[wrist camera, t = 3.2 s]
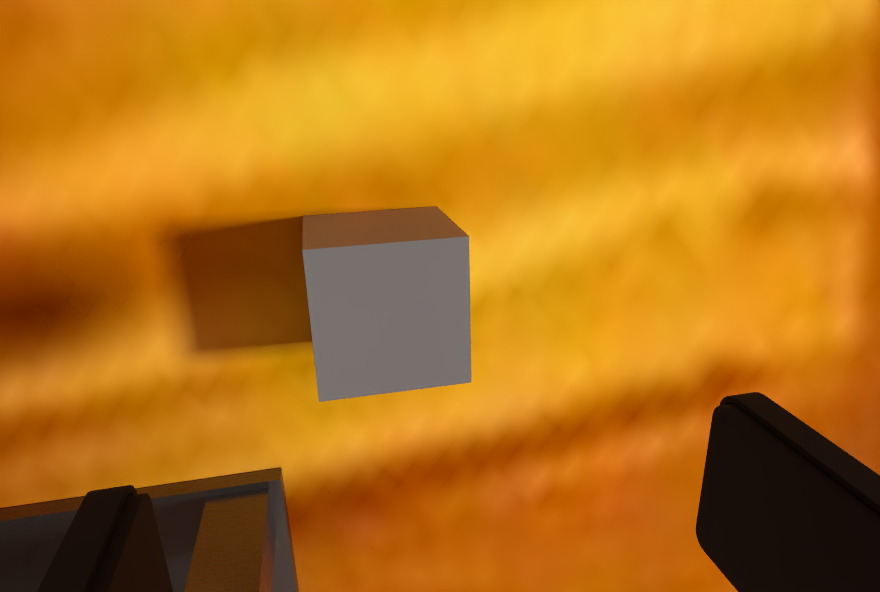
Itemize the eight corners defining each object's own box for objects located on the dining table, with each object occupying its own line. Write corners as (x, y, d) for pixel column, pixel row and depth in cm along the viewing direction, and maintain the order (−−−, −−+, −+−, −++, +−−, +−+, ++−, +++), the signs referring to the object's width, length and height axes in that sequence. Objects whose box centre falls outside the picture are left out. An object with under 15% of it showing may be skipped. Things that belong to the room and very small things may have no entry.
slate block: (436, 205, 23) (469, 236, 19) (440, 327, 25) (471, 382, 20) (302, 215, 22) (302, 250, 18) (316, 340, 24) (319, 401, 19)
